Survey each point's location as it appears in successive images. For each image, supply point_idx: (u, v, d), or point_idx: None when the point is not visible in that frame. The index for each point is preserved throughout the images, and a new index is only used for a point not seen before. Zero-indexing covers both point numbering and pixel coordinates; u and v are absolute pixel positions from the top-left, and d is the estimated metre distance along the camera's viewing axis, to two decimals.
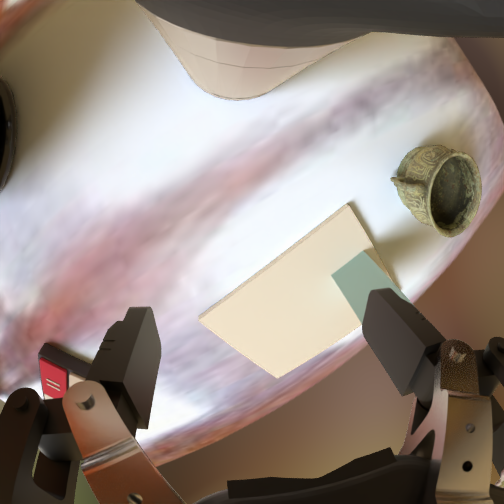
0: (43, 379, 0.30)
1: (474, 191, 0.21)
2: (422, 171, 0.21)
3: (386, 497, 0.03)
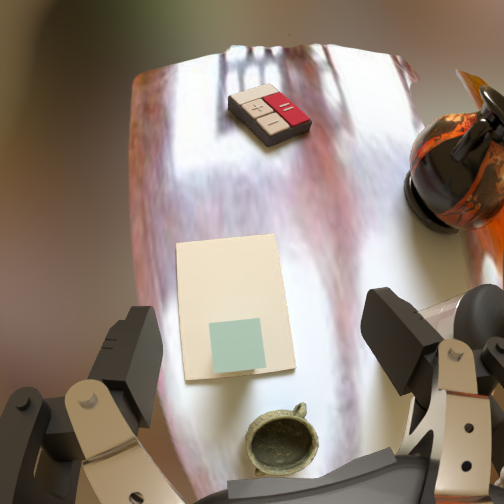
0: (292, 104, 0.51)
1: (270, 468, 0.26)
2: None
3: (386, 497, 0.03)
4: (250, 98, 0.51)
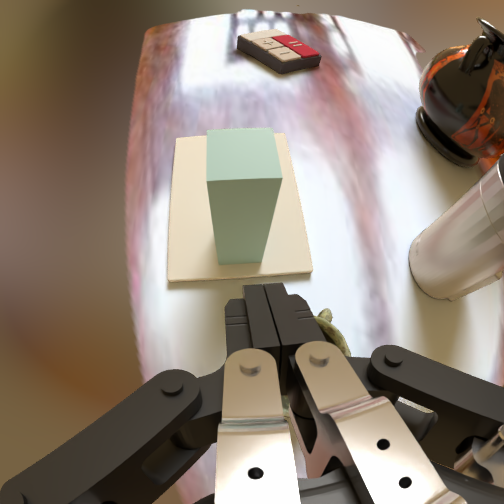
0: (301, 43, 0.45)
1: None
2: None
3: (386, 497, 0.03)
4: (259, 37, 0.45)
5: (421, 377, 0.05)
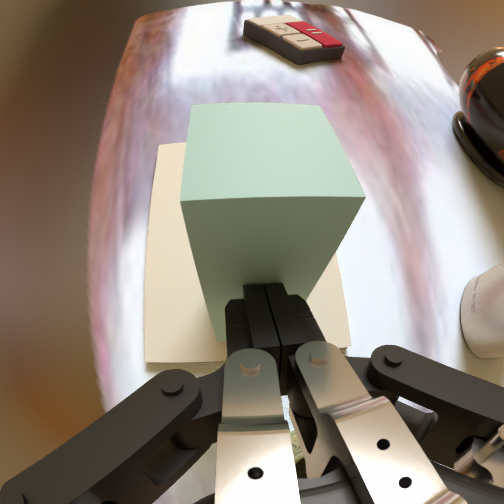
0: (320, 31, 0.36)
1: None
2: None
3: (386, 497, 0.03)
4: (270, 22, 0.36)
5: (421, 377, 0.05)
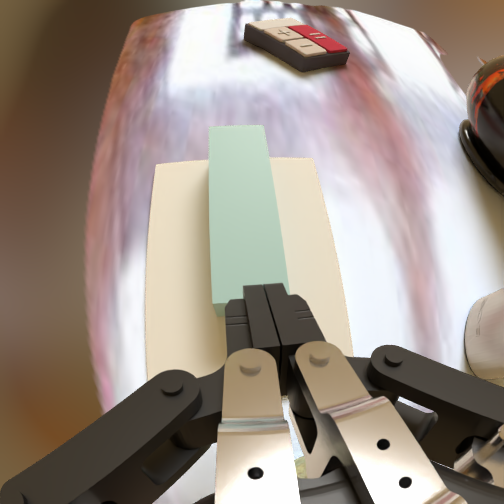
0: (324, 35, 0.35)
1: None
2: None
3: (386, 497, 0.03)
4: (272, 26, 0.35)
5: (421, 377, 0.05)
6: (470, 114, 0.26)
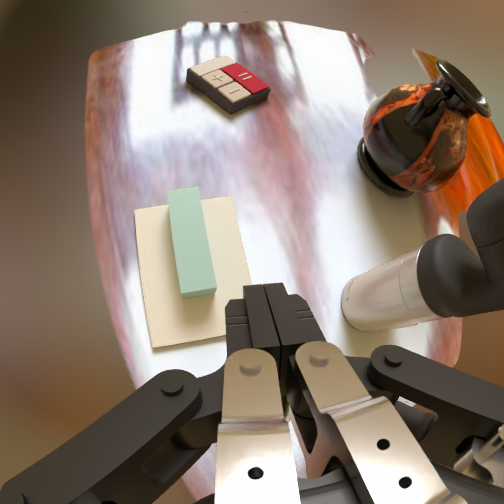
0: (250, 73, 0.50)
1: None
2: None
3: (386, 497, 0.03)
4: (209, 69, 0.48)
5: (421, 377, 0.05)
6: (364, 137, 0.46)
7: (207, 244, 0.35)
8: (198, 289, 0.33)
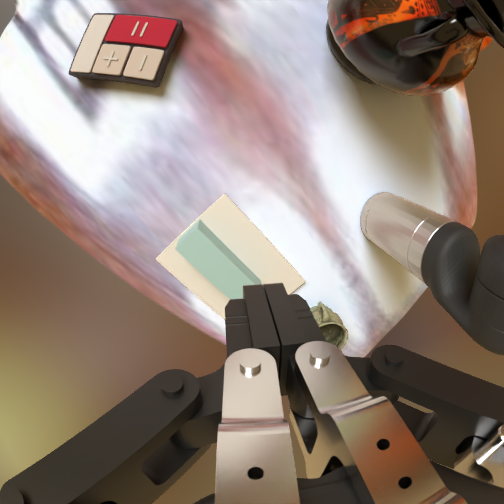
0: (143, 18, 0.26)
1: None
2: (333, 317, 0.46)
3: (386, 497, 0.03)
4: (92, 53, 0.26)
5: (421, 377, 0.05)
6: None
7: (238, 270, 0.40)
8: None
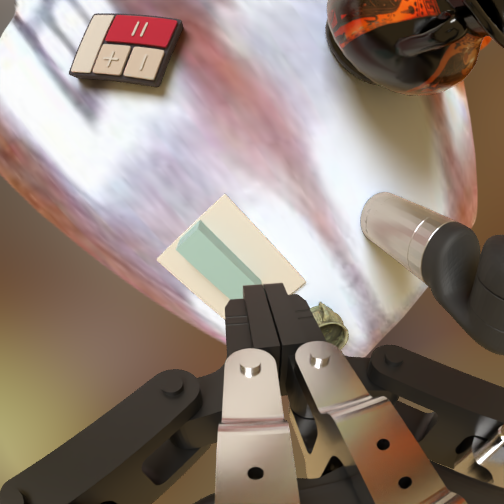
0: (143, 18, 0.26)
1: None
2: (333, 317, 0.46)
3: (386, 497, 0.03)
4: (92, 54, 0.27)
5: (421, 377, 0.05)
6: None
7: (239, 270, 0.40)
8: None
